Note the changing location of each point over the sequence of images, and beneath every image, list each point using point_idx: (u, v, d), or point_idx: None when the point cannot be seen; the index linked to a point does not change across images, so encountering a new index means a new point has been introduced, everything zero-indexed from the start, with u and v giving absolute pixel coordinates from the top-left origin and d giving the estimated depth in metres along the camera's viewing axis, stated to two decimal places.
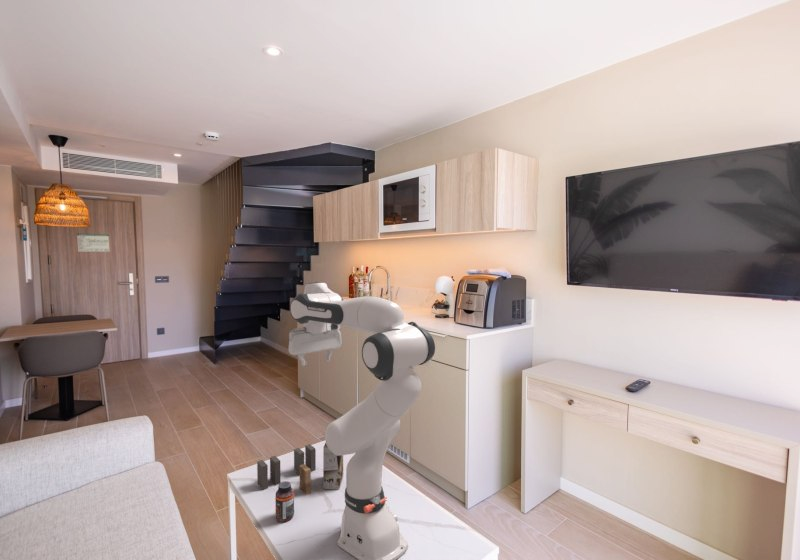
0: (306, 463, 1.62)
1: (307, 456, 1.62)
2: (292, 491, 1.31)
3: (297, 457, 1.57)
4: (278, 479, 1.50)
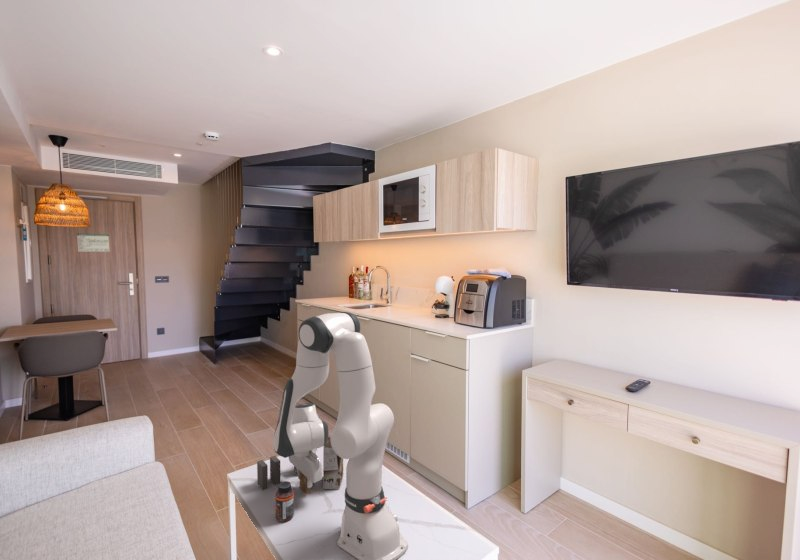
0: None
1: None
2: (292, 491, 1.31)
3: None
4: (278, 479, 1.50)
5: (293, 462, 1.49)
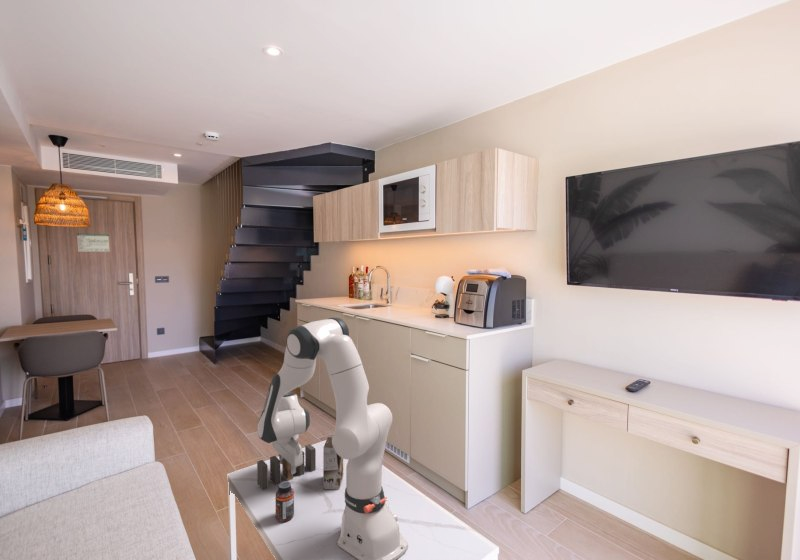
0: (306, 463, 1.62)
1: (307, 456, 1.62)
2: (292, 491, 1.31)
3: None
4: (278, 479, 1.50)
5: (276, 449, 1.58)
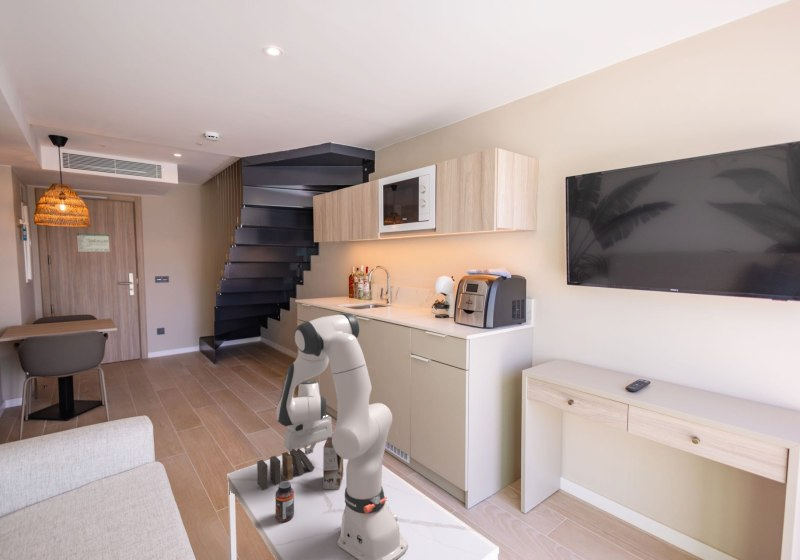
0: (304, 464, 1.62)
1: (301, 460, 1.60)
2: (292, 491, 1.31)
3: (294, 459, 1.56)
4: (278, 479, 1.50)
5: (298, 444, 1.56)
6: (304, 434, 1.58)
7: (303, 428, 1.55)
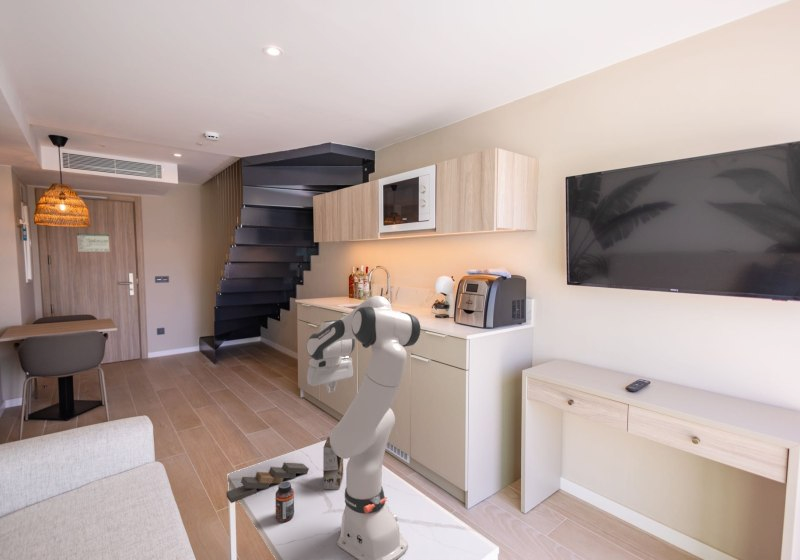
0: None
1: None
2: (292, 491, 1.31)
3: None
4: (264, 485, 1.47)
5: (320, 381, 1.58)
6: (326, 372, 1.60)
7: (326, 365, 1.57)
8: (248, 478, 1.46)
